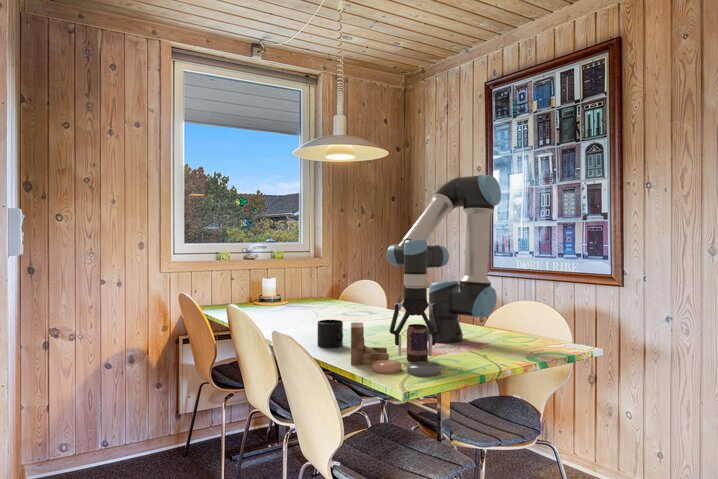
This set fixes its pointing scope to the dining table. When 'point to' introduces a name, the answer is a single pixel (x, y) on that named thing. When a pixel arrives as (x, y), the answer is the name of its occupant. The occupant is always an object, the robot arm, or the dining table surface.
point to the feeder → (364, 348)
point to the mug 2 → (417, 343)
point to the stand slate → (423, 369)
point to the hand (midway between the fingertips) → (415, 355)
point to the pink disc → (386, 366)
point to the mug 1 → (330, 333)
